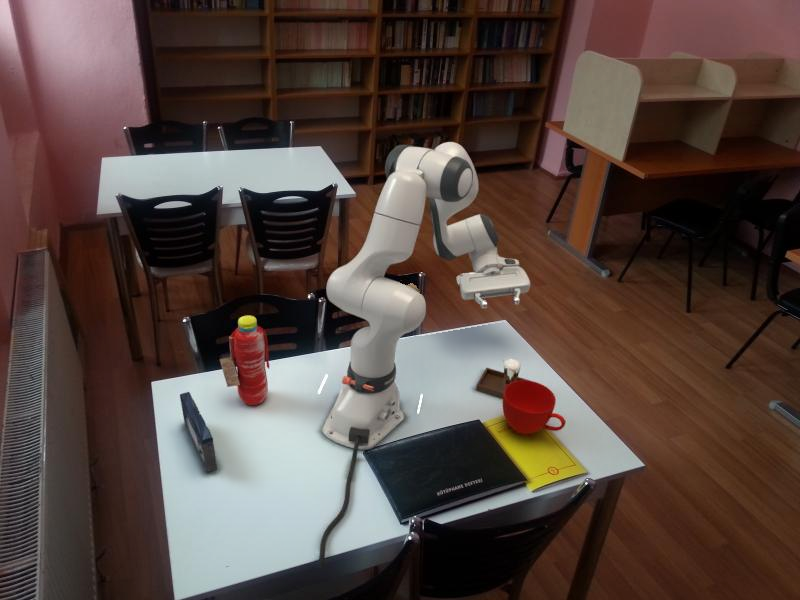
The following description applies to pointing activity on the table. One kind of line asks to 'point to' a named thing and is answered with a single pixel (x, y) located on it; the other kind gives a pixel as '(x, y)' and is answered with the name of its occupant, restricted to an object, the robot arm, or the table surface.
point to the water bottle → (247, 361)
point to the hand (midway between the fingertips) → (500, 304)
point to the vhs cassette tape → (198, 432)
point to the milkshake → (510, 371)
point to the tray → (492, 382)
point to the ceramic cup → (529, 407)
